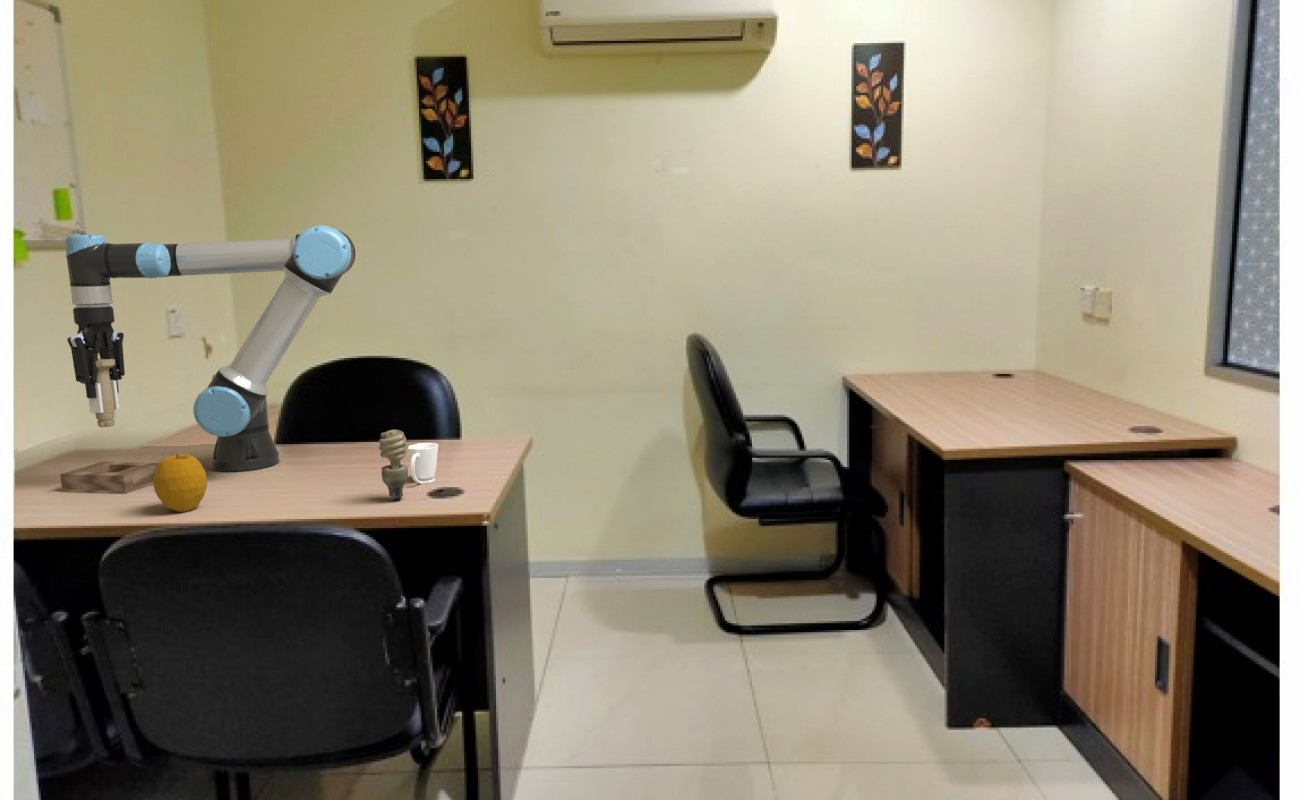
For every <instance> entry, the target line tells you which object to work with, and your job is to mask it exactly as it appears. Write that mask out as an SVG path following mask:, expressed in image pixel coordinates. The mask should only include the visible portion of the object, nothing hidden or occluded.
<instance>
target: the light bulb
mask: <svg viewBox="0 0 1300 800" xmlns="http://www.w3.org/2000/svg"><path fill="white" fill-rule="evenodd" d="M406 442H407V437H406V436H405V433H404V432H403V431H402V430H400V429H390V430H389V429H388V430H387V431H385V432H381V433H380V438H379V440H378V443H379V447H378V449H379V450H380V451H381V452H380V453H379V456H380V457H381V458H386V459H388V460H389V462H390V464H388V465H384V466H382V467H381V479H382V482H383V483H384V485H385V486H386V487H387V490H388V493H389V494H388V496H389V497H390V498H391V499H394V500H395V501H401V498H403V496H404V493H403V491H404V490H403V489H404V485H405V483H406V482H407V481H408V477H409V475H408V473H409V471H408V470H409V469H408V468H409V467H408V466H407V465H405V464H401V461H402V460H403V459H404V458H405V457H406V456H407V450H406V449H407V444H406Z"/></svg>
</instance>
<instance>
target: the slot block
mask: <svg viewBox="0 0 1300 800" xmlns="http://www.w3.org/2000/svg"><path fill="white" fill-rule="evenodd" d="M159 463H160V462H135V461H134V462H133V461H128V462H127V461H122V462H121V461H100V462H95V463H94V464H91V465H86V466H82V467H80V468H79V467H78V468H76V469H73V470H70V471H69V470H68V471H67V472H63V473H60V474H59V476H60V483H61V491H62V492H63V493H64V492H66V493H68V492H69V493H71V492H72V493H94V494H95V493H97V494H98V493H99V494H128V493H132V492H135V491H136V490H139V489H143V488H146V487H148V486H151V485H154V484H153V480H154V474H155V471H156V468H157V466H158V465H159Z"/></svg>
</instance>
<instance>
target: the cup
mask: <svg viewBox="0 0 1300 800" xmlns="http://www.w3.org/2000/svg"><path fill="white" fill-rule="evenodd" d="M407 449H408V453H409V458H410V474H411V477H412V480H414V482H415V483H417V484H420V485H421V484H429V483H433V482H435V480H436V479H435V476H436V471H437V465H438V464H437V463H438V453H439V443H434V442H422V443H421V442H420V443H418V442H417V443H415V444H410V445H408V448H407Z"/></svg>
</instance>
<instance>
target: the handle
mask: <svg viewBox="0 0 1300 800" xmlns="http://www.w3.org/2000/svg"><path fill="white" fill-rule="evenodd" d="M114 365H115V359H100V358H98V361H96V367H97V382H96V383H100V386H101V394H102V403H103V413H94V415H95V418H96V420H97V421H96V422H97V426H98V427H99V428H110V427H114V426H115V422H116V421H115V415H116V412H115V410H116V409H114V408H115V407H114V398H113V393H112V387H111V382H110V376H109V369H110V368H111V367H113V366H114Z"/></svg>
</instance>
